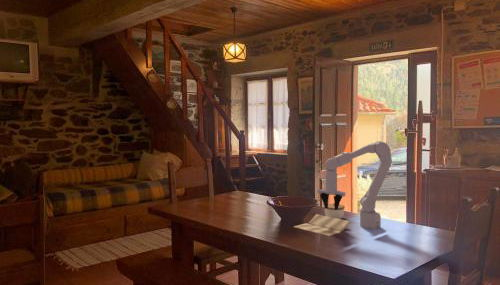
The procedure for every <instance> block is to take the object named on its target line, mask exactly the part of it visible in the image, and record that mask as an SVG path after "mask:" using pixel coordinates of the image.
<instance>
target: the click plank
mask: <svg viewBox="0 0 500 285" xmlns="http://www.w3.org/2000/svg"><path fill="white" fill-rule="evenodd" d="M307 224H311V225H316V226H320V227H324V228H328V229H333V230H337V231H341V232H343V231H344V230H345V229H346V228H347V227H348V225H349V224H350V221H349V220H345V219H342V218H341V219H337V218H333V217H328V216H326V215H321V214H317V213H316V214H315V215H314V216H313V217H312V218H311V220H309V222H308V223H307Z"/></svg>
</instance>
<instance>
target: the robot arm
mask: <svg viewBox="0 0 500 285" xmlns="http://www.w3.org/2000/svg"><path fill="white" fill-rule="evenodd" d="M365 154H376V155H377V157H378V159H379V161H380V162H379V165H378V167H377V170H376V171H375V174H374V176H373V179H372V180H371V182H370V185H369V187H368V189H367V191H366V192H365V194H364V195H363V197H361V198H360V201H359V203H360V206H361V208H360V209H359V226H360V227H361V228H364V229H370V230H377V229H381V225H382V224H381V223H382V222H381V221H382V219H381V218H382V217H381V214H380V212H377V211H376V210H375V209H376V201H377V199H378V194H379V192H380V190H381V189H382V188H381V187H382V185H383V183H384V181H385V178H386V176H387V175H388V172H389V171H390V168H391V165H392V163H393V160H392V159H393V158H392V152H391V148H390V146H389V145H388V144H387V143H386V142H383V141H375V142H371V143H368V144H366V145H363V146H362V147H360V148H358V149H355V150H353V151H351V152H348V151H345V152H344V151H342V152H341V153H340V154H338V155H336V156H335V155H333V156H332V158H331V157H330V158H328V159H327V160H325V163H324V164H325V189H322V188H321V189H320V188H319V189H317V194H320V198H321V200H322V202H323V206H324V210H325V209H326V208H328V204H329V196H330V195H332V196H333V201H334V202H333V203H335V210H338V206H339V204H341V200H342V198H343V197H345V196H346V192H345V191H341V190H338V173H337V170H338V167H339V168H340V167H342V166H346V165H347V164H349V163H352V160H353V159H355V158H358V157H360V156H363V155H365Z"/></svg>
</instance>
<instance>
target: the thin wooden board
mask: <svg viewBox="0 0 500 285" xmlns="http://www.w3.org/2000/svg"><path fill="white" fill-rule="evenodd" d="M293 228H296V229H301V230H304V231H309V232H312V233H316V234H320V235H325V236H327V237H330V236H333V235H337V234H340V233H342V231H337V230H333V229H329V228H325V227H320V226H316V225H312V224H308V223H307V222H305V223H302V224H299V225H294V226H293Z"/></svg>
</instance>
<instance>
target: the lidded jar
mask: <svg viewBox="0 0 500 285" xmlns="http://www.w3.org/2000/svg"><path fill="white" fill-rule="evenodd" d="M324 214H325V215H324V216H328V217H333V218H337V219H342V218H343V217H344V214H345V205H343V204H341V203H339V206H338V210H335V202H333V203H328V208H326V209H325V208H324Z"/></svg>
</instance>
